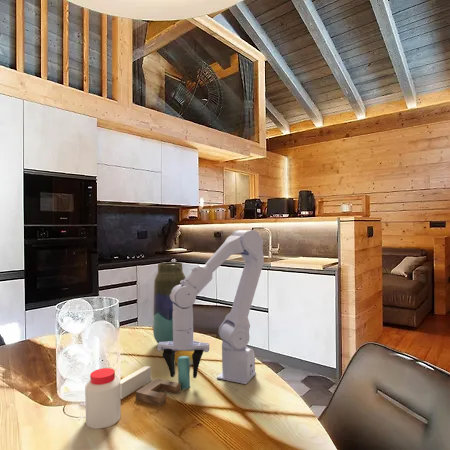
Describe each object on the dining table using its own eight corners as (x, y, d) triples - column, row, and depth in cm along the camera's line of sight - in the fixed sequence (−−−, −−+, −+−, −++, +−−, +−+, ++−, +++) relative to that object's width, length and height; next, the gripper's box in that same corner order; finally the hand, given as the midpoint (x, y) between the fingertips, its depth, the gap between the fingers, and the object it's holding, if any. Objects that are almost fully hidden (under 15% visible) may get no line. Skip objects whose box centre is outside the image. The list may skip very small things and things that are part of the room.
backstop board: (151, 380, 101) (150, 366, 101) (121, 399, 91) (121, 383, 91) (145, 379, 102) (145, 365, 102) (115, 397, 92) (115, 382, 92)
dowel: (192, 385, 98) (191, 357, 98) (185, 390, 95) (185, 361, 95) (182, 383, 99) (182, 355, 99) (176, 387, 97) (175, 359, 97)
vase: (196, 342, 134) (195, 262, 135) (173, 353, 123) (171, 265, 123) (169, 336, 142) (168, 260, 142) (145, 347, 130) (143, 264, 130)
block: (180, 390, 95) (180, 383, 95) (160, 406, 87) (160, 398, 87) (157, 385, 98) (157, 378, 98) (135, 399, 90) (135, 391, 90)
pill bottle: (83, 431, 77) (82, 382, 77) (87, 413, 84) (87, 368, 84) (120, 425, 79) (119, 377, 79) (121, 408, 86) (120, 364, 86)
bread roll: (176, 368, 111) (176, 355, 111) (173, 358, 119) (173, 346, 119) (201, 365, 113) (201, 352, 113) (196, 355, 121) (196, 343, 121)
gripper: (210, 324, 100) (211, 370, 100) (162, 323, 102) (163, 369, 102) (206, 331, 93) (207, 381, 93) (154, 330, 95) (155, 380, 95)
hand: (183, 376), depth 97 cm, fingers open, 6 cm apart
